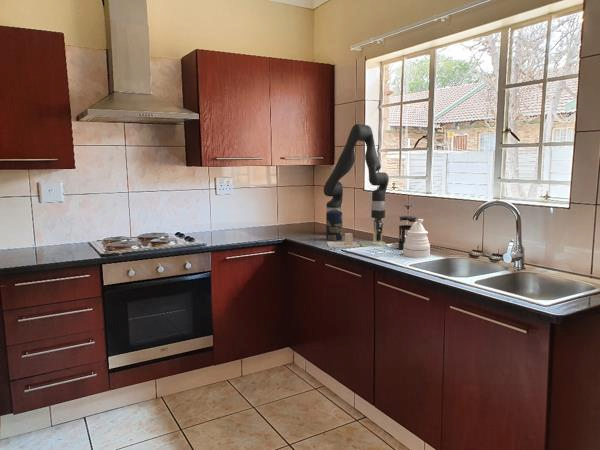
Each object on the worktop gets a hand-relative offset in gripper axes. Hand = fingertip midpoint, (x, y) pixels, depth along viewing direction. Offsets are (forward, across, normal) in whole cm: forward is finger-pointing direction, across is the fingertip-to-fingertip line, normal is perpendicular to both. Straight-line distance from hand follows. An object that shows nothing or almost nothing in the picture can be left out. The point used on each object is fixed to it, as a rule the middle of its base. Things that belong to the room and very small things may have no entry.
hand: (377, 239), depth 264 cm
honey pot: (+3, +28, +14) cm, 31 cm away
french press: (+3, +11, +14) cm, 18 cm away
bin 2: (+3, 0, -3) cm, 4 cm away
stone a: (+1, 0, 0) cm, 1 cm away
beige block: (+3, 0, -16) cm, 16 cm away
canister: (+3, -17, -22) cm, 28 cm away
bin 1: (+3, 0, -19) cm, 19 cm away
